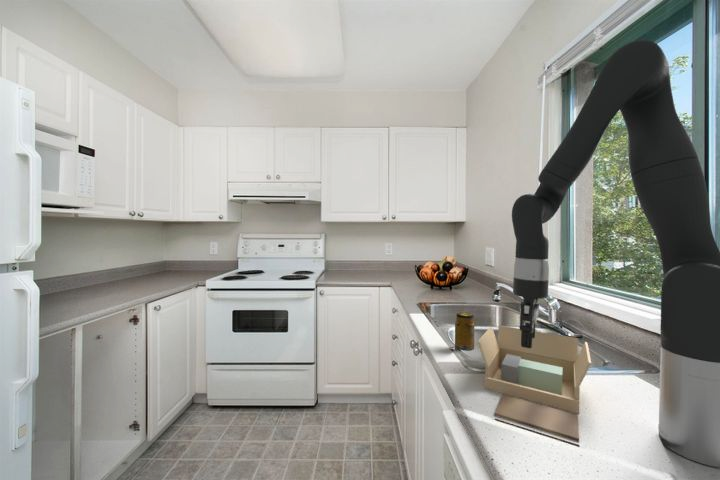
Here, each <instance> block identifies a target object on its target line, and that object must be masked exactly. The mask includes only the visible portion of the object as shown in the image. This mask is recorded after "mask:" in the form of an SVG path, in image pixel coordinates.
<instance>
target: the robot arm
mask: <svg viewBox="0 0 720 480" xmlns="http://www.w3.org/2000/svg"><path fill="white" fill-rule="evenodd" d="M619 112H620V113H621V116H622V118H623V120H624V124H625V127H626V131H627V158H628V167H629V173H630V176H631V181H632V184H633V187H634V192H635V195H636V197H637V200H638V203H639V204H640V206H641V209H642V211H643V213H644V216H645V218H646V220H647V222H648V224H649V226H650V227H651V229H652V231H653V233H654V236H655V238H656V241H657V244H658V248H659V253H660V258H661V265H662V275H663V279H662V282H661V290H660V293H661V294H660V326H659V327H660V329H659V330H660V360H659V362H660V363H659V365H660V367H659V368H660V369H659V400H658V404H659V405H658V406H659V407H658V434H657V435H658V437H659V439H660V441H661V443H662V444H663V445H664V447H665V446H666V447H667V448H668V449H669V450H671V451H672V452H675V453H676V454H678V455H680V456H681V457H684V458H686V459H689V460H691V461H693V462H696V463H699V464H701V465H706V466H709V467H714V468H720V249H719V246H718V245H717V243H716V242H717V241H716V240H715V236H714V235H713V231H712V225H711V216H710V214H711V212H710V202H709V201H710V200H709V193H708V189H707V183H706V179H705V174H704V172H703V169H702V166H701V163H700V160H699V156H698V154H697V151H696V149H695V147H694V144H693V141H692V140H691V137H690V136H689V134H688V131H687V130H686V128H685V126H684V125H683V123H682V121H681V119H680V117H679V115H678V112H677V110H676V107H675V102H674V97H673V92H672V84H671V75H670V66H669V62H668V59H667V56H666V55H665V53H664V51H663V49H662V48H661V46H660V45H659V44H658V43H656V42H655V41H653V40H649V39H638V40H637V39H636V40H633V41H631V42H630V41H629V42H628V43H625V44H624V45H622V46H621V47H619V48H617V50H615V51H614V52H613V53H612V54H611V55H610V56H609V58H607V60H606V61H605V63H604V65H603V67H602V68H601V70H600V71H599V75H598V76H597V77H596V80H595V82H594V84H593V86H592V89H591V90H590V92H589V95H588V97H587V98H586V100H585V102H584V104H583V105H582V107H581V109H580V112H579V113H578V115H577V117H576V118H575V120H574V122H573V123H572V125H571V127H570V128H569V130H568V132H567V133H566V134H565V136H564V138H563V140H562V141H561V143H560V144H559V145H558V147H557V149H556V150H555V151H554V153H553V154H552V156H551V157H550V158H549V160H548V161H547V162H546V165H544V167H543V169H542V170H541V171H540V173H539V175H538V179H537V180H538V182H539V185H538V187H537V189H536V191H535V193H534V194H531V193H526V194H523V195H521V196H518V197H517V198H516V200H515V201H514V203H513V204H512V207H511V208H512V209H511V221H512V227H513V232H514V237H515V240H516V241H515V256H514V257H515V258H514V259H515V260H514V263H513V278H512V279H513V282H512V283H513V286H512V293H513V295H514V296H516V297H522V299H523V300H522V301H521V303H519V328H518V329H520V330H521V346H522V347H525V348H531V347H532V338H535V331H536V324H537V321H538V320H537V319H538V318H539V311H540V303H538V301H539V300H543V299H547V298H548V296H549V279H550V277H549V276H550V271H549V270H550V266H549V265H550V264H549V249H550V248H549V246H550V245H549V243H550V242H549V239H548V237H547V236H546V235H545V234H544V229H543V224H546V223H547V222H549V221H550V220H551V219H552V218H553V217H554V216H555V215H556V213H557V212H558V211H559V208H560V207H561V204H562V203H563V201H564V200H565V197H566V195H567V193H568V191H569V189H570V187H572V186H573V184H574V183H575V181H577V179H578V178H579V176H580V175H581V174H582V173H583V171H584V170H585V168H586V167H587V166H588V164H589V163H590V161H591V159H592V158H593V156H594V154H595V152H596V150H597V148H598V146H599V143H600V142H601V140H602V138H603V135H604V134H605V133H606V131H607V129H608V127H609V126H610V124H611V123H612V121H613V120H614V118H615V116H616V115H617V114H618V113H619Z"/></svg>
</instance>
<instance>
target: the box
mask: <svg viewBox="0 0 720 480" xmlns="http://www.w3.org/2000/svg"><path fill="white" fill-rule="evenodd" d="M562 373H563V367H558V366H553V365H548V364H544V363H539V362H534V361H529V360H524V359H521V357H520V356H515V355H510V354H506V356H505V358H504V360H503V362H502V366H501V380H502V381H506V382H510V383H514V384H518V385H522V386H526V387H530V388H534V389H538V390H542V391H546V392H550V393H554V394H558V395H562Z"/></svg>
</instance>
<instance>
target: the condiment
mask: <svg viewBox="0 0 720 480" xmlns="http://www.w3.org/2000/svg"><path fill="white" fill-rule="evenodd" d="M454 347H455V350H456V349H457V350H461V351H464V352H465V351H467V352H469V351H474V350H475V323H474V315H473V314H472V313H471V312H466V311H465V312H464V311H463V312H462V311H460V312H457V313H456V321H454ZM451 348H452V347H449V348H448V349H449V350H451Z"/></svg>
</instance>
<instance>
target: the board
mask: <svg viewBox="0 0 720 480" xmlns="http://www.w3.org/2000/svg"><path fill="white" fill-rule="evenodd" d="M578 415H579V414H578V413H575V412H571V411H567V410H563V409H560V408H556V407H552V406H549V405H545V404H541V403H538V402H534V401H530V400H526V399H523V398H519V397H515V396H512V395H508V394H504V393H501V397H500V399H499V402H498V404H497V407H496V408H495V411H494V416H495V417H497V418H494V421H496V422H500V423H502V424H506V425H508V426H512V427H515V428H518V429H521V430H524V431H528V432H530V433H533V434H537V435H540V436H543V437H547V438H549V439H553V440H556V441H558V442H562V443H565V444H567V445H571V446H575V447H578V448H579V447H580V445H579V444H577V443H574V442H575V441H576V442H580V432H579V416H578ZM498 417H499V418H502V419H505V420H506V421H505V420H502V419H498ZM507 420H508V421H507ZM509 421H511V422H514V423H511V422H509ZM515 423H517V424H515ZM518 424H520V425H518ZM521 424H522V425H523V426H521ZM524 426H527V427H524ZM528 427H529V428H534V429H537V430H540V431H544V432H546V433H549V434H552V435H556V436H560V437H562V438H565V439H569V440H572V441H574V442H571V441H569V440H565V439H562V438H559V437H555V436H552V435H548V434H546V433H542V432H539V431H536V430H533V429H529V428H528Z"/></svg>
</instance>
